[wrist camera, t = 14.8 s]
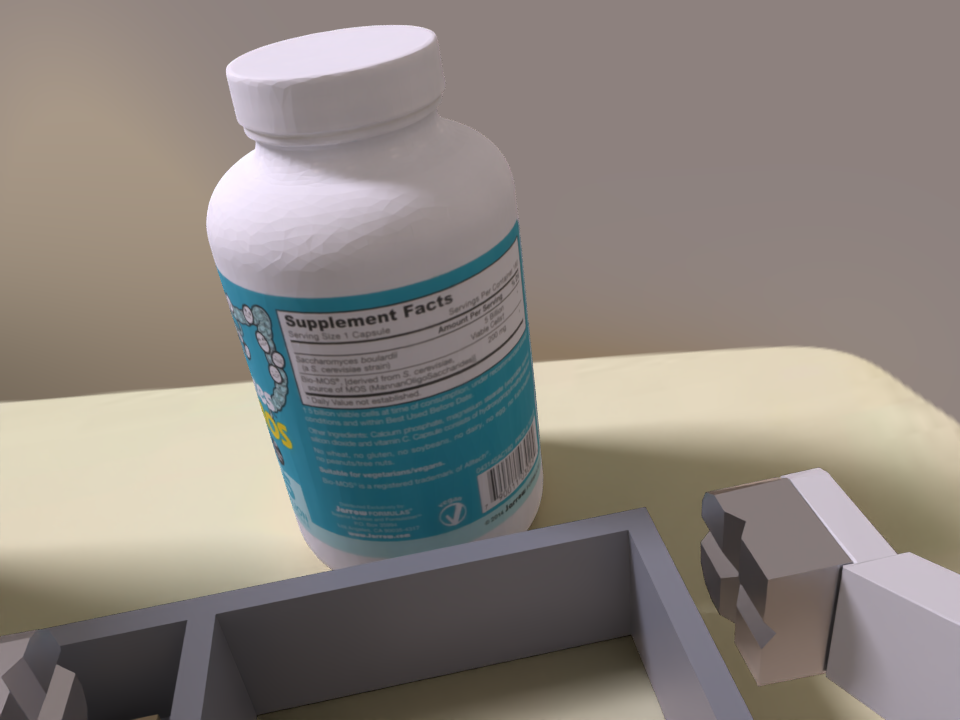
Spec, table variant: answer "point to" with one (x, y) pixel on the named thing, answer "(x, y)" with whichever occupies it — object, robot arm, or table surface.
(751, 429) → the table surface
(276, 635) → the parts tub
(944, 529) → the table surface
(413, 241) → the pill bottle
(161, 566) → the table surface
